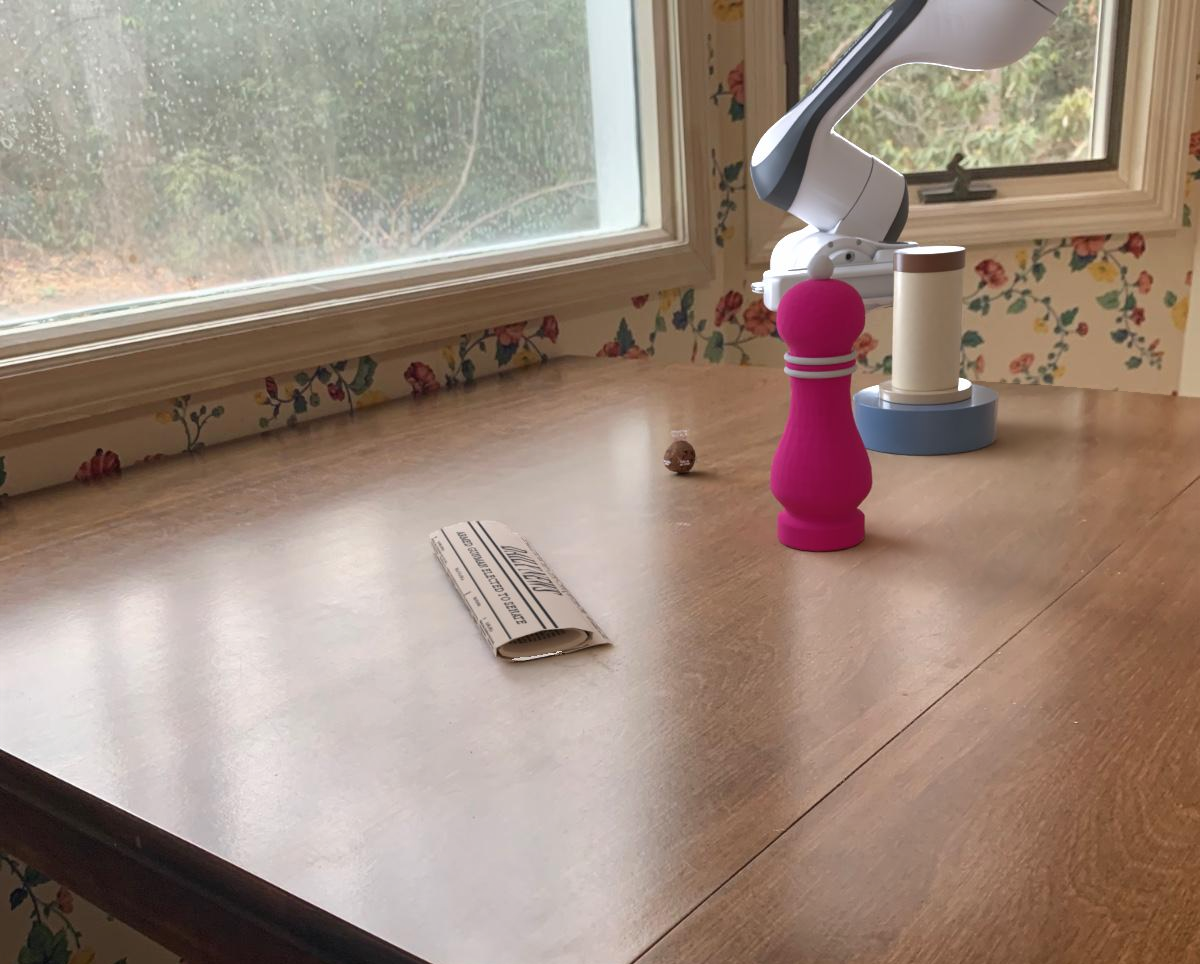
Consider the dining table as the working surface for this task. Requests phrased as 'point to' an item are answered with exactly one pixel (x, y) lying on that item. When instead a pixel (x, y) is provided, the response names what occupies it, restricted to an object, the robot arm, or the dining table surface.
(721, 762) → the dining table surface
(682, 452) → the chocolate
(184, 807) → the dining table surface
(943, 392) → the two-tier round pedestal
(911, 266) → the canister
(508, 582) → the newspaper
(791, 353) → the pepper mill
